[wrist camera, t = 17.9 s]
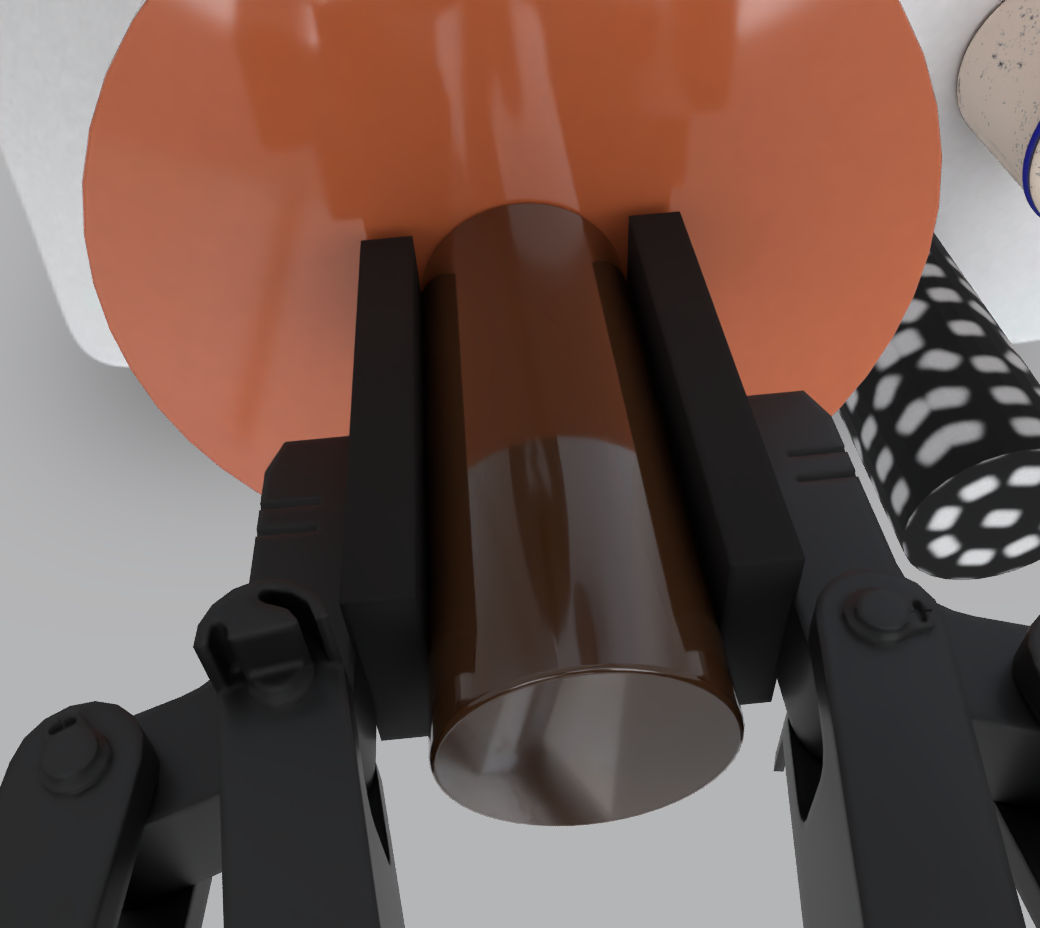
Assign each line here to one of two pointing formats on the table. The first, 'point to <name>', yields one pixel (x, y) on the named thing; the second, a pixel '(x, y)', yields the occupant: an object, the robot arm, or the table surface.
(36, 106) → the table surface
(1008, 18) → the teacup with lid
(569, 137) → the lid
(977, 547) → the white-spotted black cylinder
